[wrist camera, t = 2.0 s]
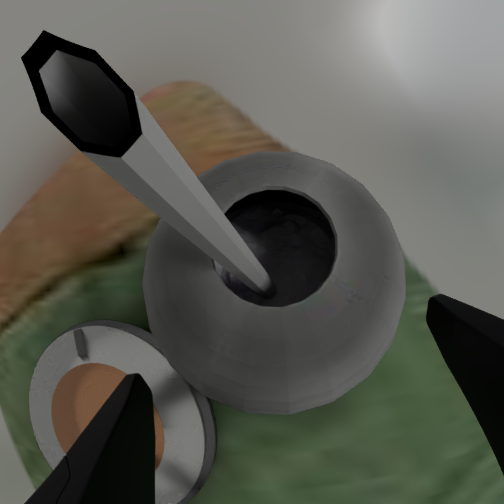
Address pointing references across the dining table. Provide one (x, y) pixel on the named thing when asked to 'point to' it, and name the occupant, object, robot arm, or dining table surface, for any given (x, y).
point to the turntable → (98, 391)
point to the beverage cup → (239, 249)
